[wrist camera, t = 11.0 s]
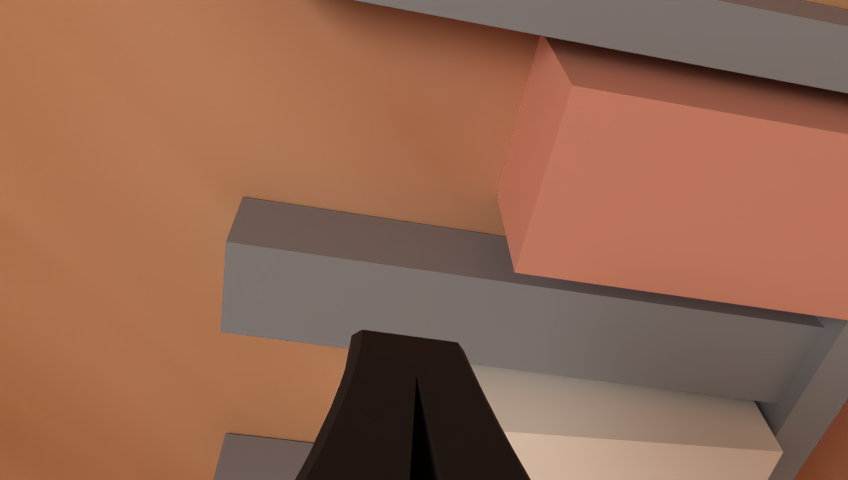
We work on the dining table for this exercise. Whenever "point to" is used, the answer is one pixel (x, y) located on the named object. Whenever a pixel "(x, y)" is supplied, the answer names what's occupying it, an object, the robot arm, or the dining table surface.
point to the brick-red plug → (679, 181)
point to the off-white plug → (626, 429)
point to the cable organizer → (542, 296)
